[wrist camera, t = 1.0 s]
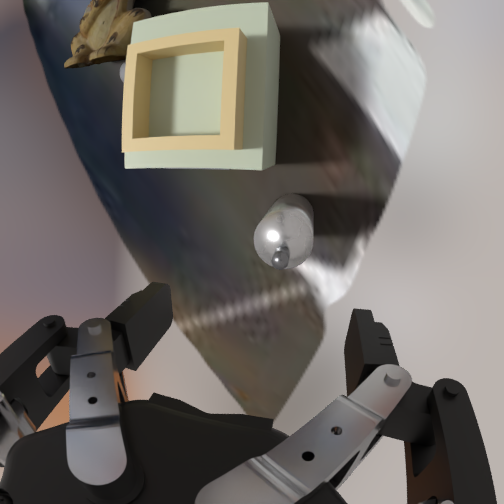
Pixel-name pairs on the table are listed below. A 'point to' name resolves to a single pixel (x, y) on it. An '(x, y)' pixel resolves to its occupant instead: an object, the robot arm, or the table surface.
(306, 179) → the table surface
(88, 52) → the figurine
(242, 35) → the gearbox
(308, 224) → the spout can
